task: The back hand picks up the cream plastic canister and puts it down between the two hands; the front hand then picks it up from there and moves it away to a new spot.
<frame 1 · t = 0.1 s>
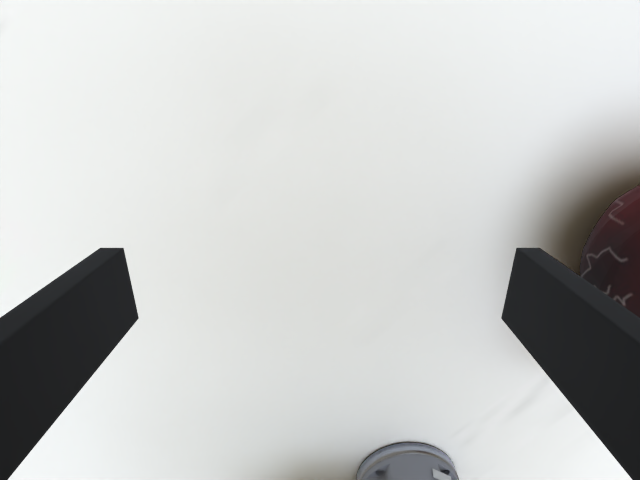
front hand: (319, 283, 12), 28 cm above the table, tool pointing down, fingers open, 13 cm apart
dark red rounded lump: (613, 253, 43), on the table
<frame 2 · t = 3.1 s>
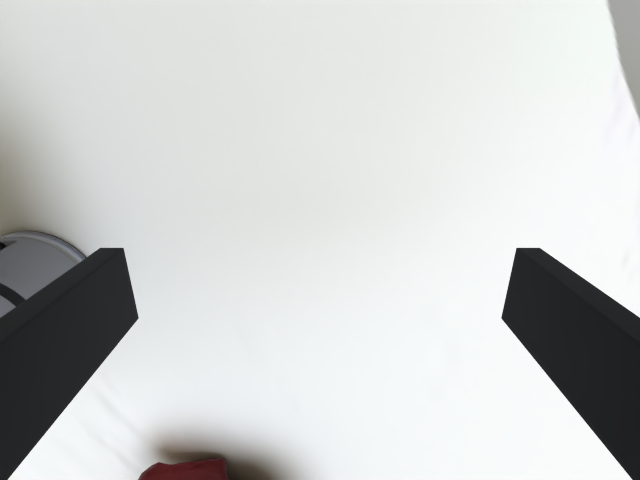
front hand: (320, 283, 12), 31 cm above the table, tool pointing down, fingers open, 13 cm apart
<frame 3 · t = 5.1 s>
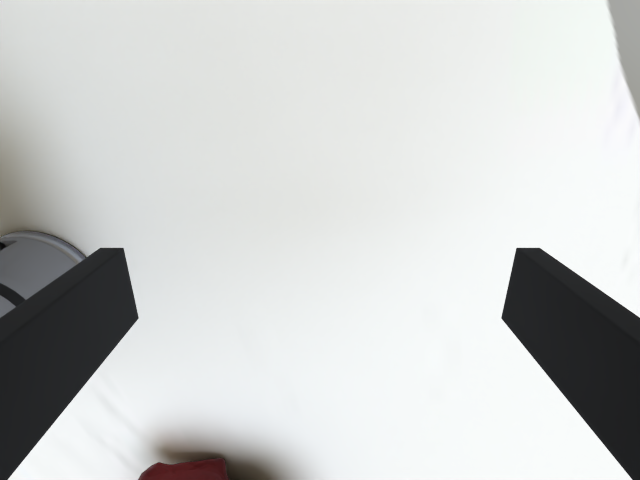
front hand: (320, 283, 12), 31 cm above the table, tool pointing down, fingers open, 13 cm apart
when the back hand's fingers open (4 cm above the table, at t = 7.6 s): canister drops 1 cm, on the table.
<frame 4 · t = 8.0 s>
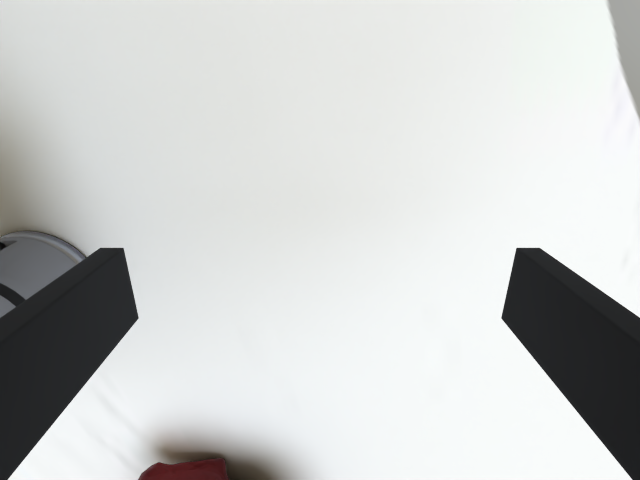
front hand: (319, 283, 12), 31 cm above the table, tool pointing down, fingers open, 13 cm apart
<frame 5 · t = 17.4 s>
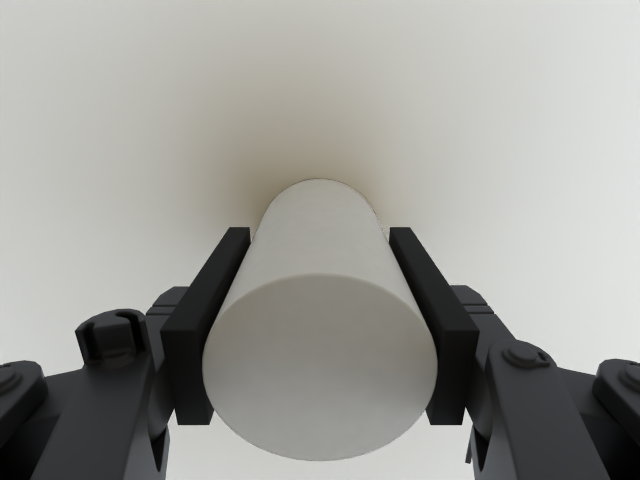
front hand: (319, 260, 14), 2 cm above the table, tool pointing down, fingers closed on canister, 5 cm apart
canister: (319, 236, 16), on the table, touching front hand
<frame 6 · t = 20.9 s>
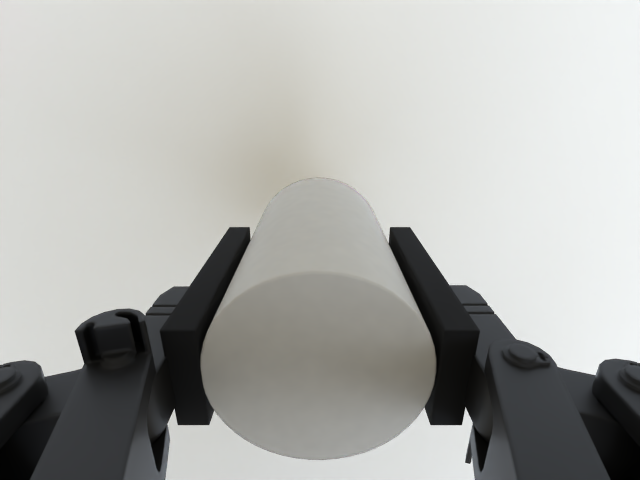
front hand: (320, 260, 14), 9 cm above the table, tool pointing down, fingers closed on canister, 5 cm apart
canister: (318, 236, 16), point 7 cm above the table, touching front hand
when the front hand's fingers open (4 cm above the table, at t = 24.7 s): canister drops 1 cm, on the table.
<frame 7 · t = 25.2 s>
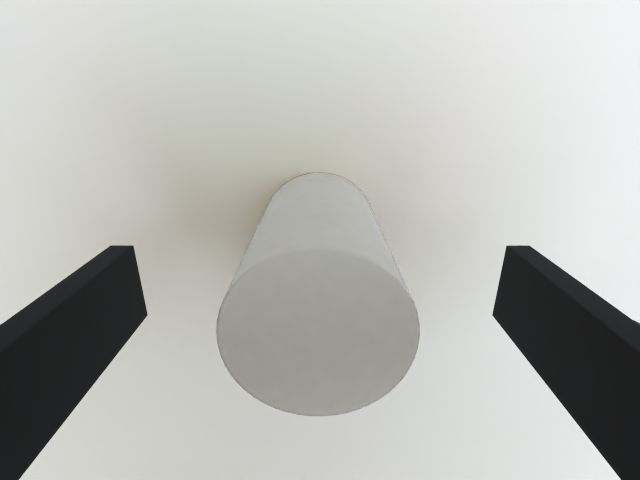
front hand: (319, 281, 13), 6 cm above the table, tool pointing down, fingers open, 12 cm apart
canister: (318, 226, 18), on the table
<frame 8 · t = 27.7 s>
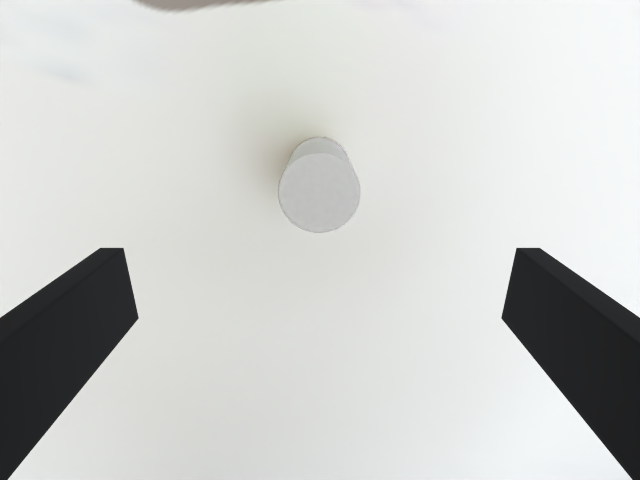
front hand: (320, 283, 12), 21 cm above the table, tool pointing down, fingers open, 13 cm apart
canister: (319, 168, 32), on the table
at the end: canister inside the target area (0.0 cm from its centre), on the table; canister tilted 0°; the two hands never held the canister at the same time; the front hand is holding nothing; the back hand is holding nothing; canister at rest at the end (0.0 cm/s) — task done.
